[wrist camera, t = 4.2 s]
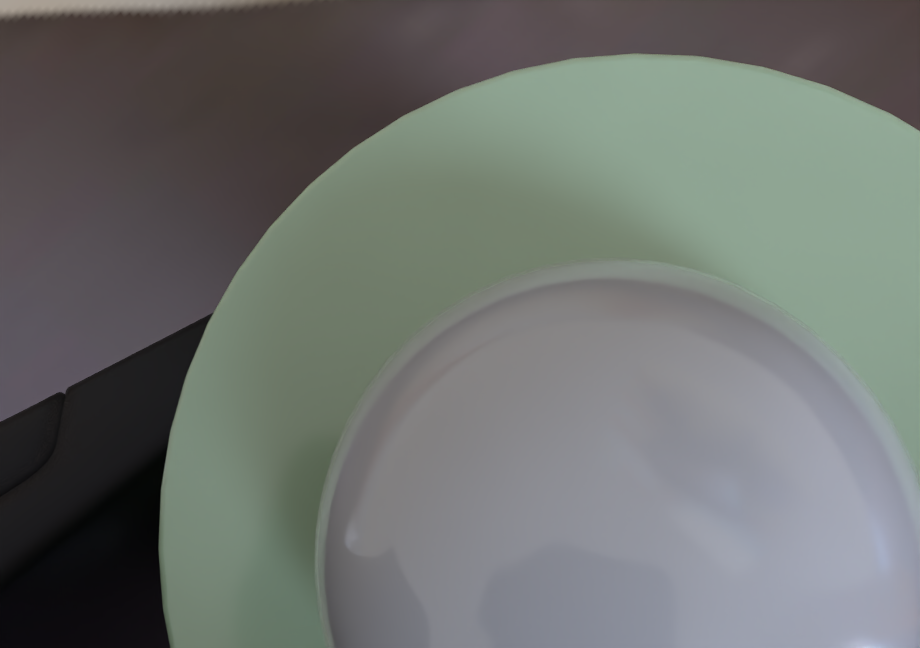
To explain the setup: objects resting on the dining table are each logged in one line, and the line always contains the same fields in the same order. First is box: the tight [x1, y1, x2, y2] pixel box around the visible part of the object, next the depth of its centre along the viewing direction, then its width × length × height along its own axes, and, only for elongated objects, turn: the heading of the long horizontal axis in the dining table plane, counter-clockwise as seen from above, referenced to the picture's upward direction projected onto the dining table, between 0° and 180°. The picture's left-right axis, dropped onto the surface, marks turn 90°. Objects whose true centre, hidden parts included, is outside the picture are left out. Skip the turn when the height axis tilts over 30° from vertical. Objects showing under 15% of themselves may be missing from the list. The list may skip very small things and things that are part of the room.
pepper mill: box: [158, 53, 920, 648], centre depth 8 cm, size 5×5×13 cm
